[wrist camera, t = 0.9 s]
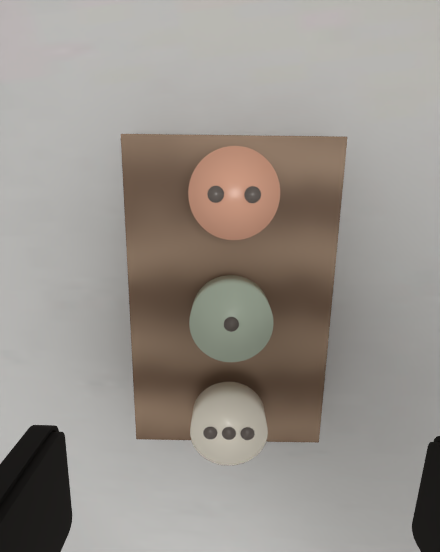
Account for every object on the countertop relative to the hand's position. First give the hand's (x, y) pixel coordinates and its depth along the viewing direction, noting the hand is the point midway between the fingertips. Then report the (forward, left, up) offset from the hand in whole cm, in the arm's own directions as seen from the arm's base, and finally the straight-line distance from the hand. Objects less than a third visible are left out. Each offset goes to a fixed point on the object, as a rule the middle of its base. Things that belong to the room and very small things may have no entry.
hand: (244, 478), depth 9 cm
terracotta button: (+7, 0, -14) cm, 16 cm away
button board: (-1, 0, -19) cm, 19 cm away
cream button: (-8, 0, -14) cm, 16 cm away
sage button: (-1, 0, -14) cm, 14 cm away
